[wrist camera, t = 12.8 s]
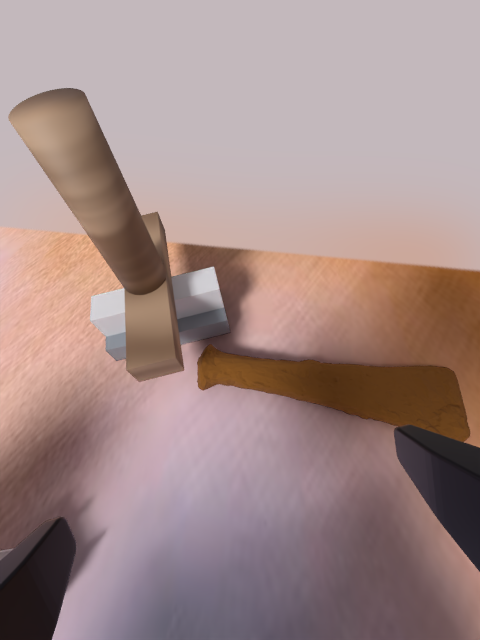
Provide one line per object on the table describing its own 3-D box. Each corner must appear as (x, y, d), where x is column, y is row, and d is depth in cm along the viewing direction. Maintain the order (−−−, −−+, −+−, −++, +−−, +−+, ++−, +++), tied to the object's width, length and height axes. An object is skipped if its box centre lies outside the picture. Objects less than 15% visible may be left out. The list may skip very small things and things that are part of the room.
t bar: (185, 370, 20) (73, 198, 9) (137, 382, 20) (-36, 223, 9) (165, 229, 27) (92, 42, 16) (131, 238, 27) (33, 55, 16)
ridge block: (219, 288, 29) (211, 255, 25) (230, 332, 26) (222, 302, 22) (116, 313, 29) (91, 283, 25) (116, 360, 26) (89, 335, 22)
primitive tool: (451, 370, 23) (477, 350, 20) (470, 447, 20) (503, 437, 17) (206, 354, 26) (196, 334, 23) (193, 419, 23) (181, 406, 20)
